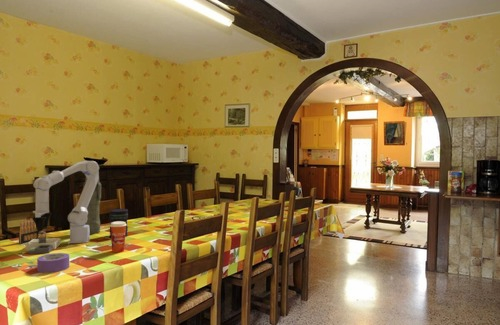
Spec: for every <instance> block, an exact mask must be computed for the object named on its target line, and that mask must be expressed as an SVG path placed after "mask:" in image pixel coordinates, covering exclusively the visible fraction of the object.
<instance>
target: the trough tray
mask: <svg viewBox="0 0 500 325" xmlns="http://www.w3.org/2000/svg"><path fill="white" fill-rule="evenodd" d="M61 239H62V238H60V237H57V238H56V237H55V238H46V243H39V239H32V240H31V241H30V242H28V243H25V251H29V249H30V248H31V247H38V246H39V245H52V250H56V249H57V248H58V247H59V246H60V245H61V242H62V240H61Z"/></svg>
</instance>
